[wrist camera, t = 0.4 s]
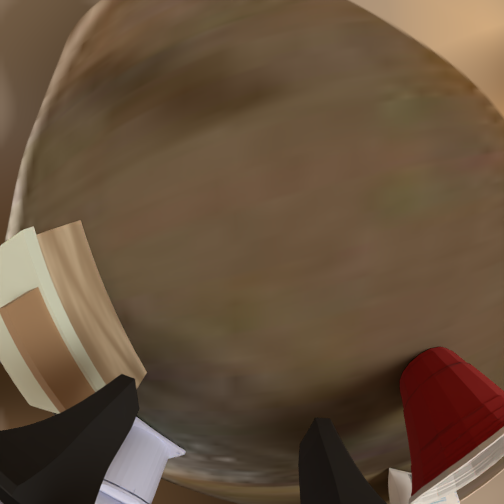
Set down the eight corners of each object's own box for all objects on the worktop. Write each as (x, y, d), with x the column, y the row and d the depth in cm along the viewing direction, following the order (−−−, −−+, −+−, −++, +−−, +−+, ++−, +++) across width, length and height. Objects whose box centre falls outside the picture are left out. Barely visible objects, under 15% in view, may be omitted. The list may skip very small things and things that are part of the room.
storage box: (80, 220, 18) (35, 235, 13) (146, 372, 21) (123, 410, 16) (6, 260, 20) (-26, 275, 15) (58, 371, 23) (35, 395, 19)
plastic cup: (417, 419, 21) (449, 504, 9) (349, 397, 20) (374, 517, 8) (487, 344, 18) (549, 418, 6) (434, 300, 17) (527, 402, 5)
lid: (33, 226, 12) (-15, 243, 9) (130, 418, 16) (109, 455, 12) (-31, 272, 15) (-57, 286, 11) (34, 400, 18) (16, 420, 15)
